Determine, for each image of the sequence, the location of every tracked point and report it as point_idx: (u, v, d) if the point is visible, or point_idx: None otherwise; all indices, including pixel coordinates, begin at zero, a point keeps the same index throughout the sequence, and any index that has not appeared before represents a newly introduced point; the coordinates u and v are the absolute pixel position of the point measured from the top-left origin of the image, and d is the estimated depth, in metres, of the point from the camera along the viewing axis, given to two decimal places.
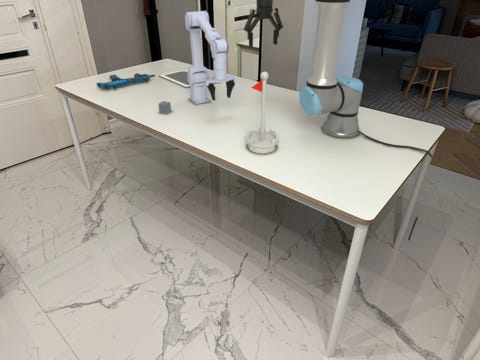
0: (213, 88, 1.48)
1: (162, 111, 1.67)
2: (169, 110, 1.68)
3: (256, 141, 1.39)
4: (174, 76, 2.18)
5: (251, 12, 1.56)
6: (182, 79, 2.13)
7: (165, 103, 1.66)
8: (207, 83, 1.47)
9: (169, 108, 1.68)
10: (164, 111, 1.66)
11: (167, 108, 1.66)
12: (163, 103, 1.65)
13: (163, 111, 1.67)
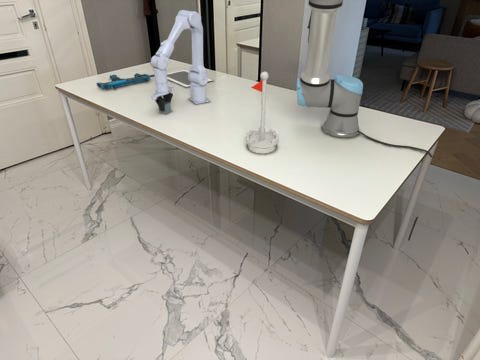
0: None
1: (162, 111, 1.67)
2: (169, 110, 1.68)
3: (256, 141, 1.39)
4: (174, 76, 2.18)
5: None
6: (182, 79, 2.13)
7: (165, 103, 1.65)
8: None
9: (169, 108, 1.68)
10: (164, 111, 1.66)
11: (167, 108, 1.66)
12: None
13: (163, 111, 1.66)
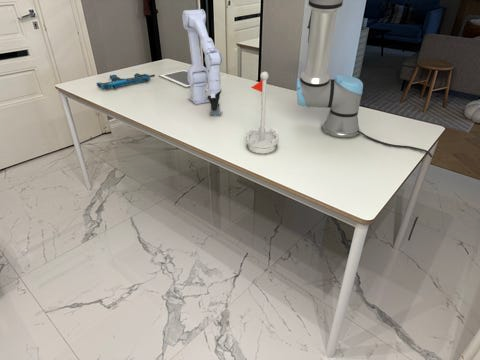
0: None
1: (214, 113, 1.64)
2: None
3: (256, 141, 1.39)
4: (174, 76, 2.18)
5: None
6: (182, 79, 2.13)
7: (217, 105, 1.64)
8: None
9: None
10: (217, 113, 1.64)
11: (219, 109, 1.64)
12: None
13: (215, 113, 1.64)
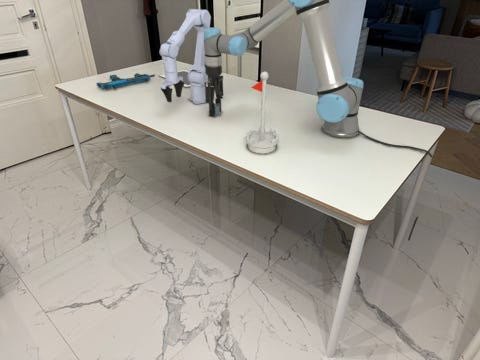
0: None
1: None
2: None
3: (256, 141, 1.39)
4: None
5: (207, 86, 1.53)
6: None
7: (217, 105, 1.64)
8: None
9: None
10: (217, 113, 1.64)
11: (219, 109, 1.64)
12: (215, 105, 1.63)
13: (215, 113, 1.64)
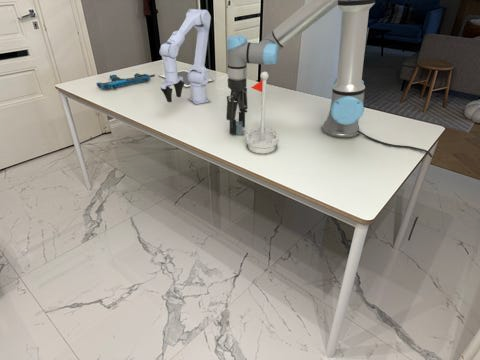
0: None
1: (237, 132, 1.46)
2: (242, 130, 1.48)
3: (256, 141, 1.39)
4: None
5: (230, 100, 1.34)
6: None
7: (239, 123, 1.46)
8: None
9: (242, 128, 1.48)
10: (240, 132, 1.46)
11: (242, 128, 1.46)
12: (237, 123, 1.45)
13: (238, 132, 1.46)
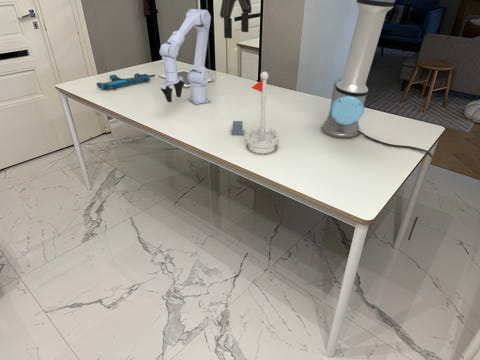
0: None
1: (237, 132, 1.46)
2: (242, 130, 1.48)
3: (256, 141, 1.39)
4: None
5: None
6: None
7: (239, 123, 1.46)
8: None
9: (242, 128, 1.48)
10: (240, 132, 1.46)
11: (242, 128, 1.46)
12: (237, 123, 1.45)
13: (238, 132, 1.46)
